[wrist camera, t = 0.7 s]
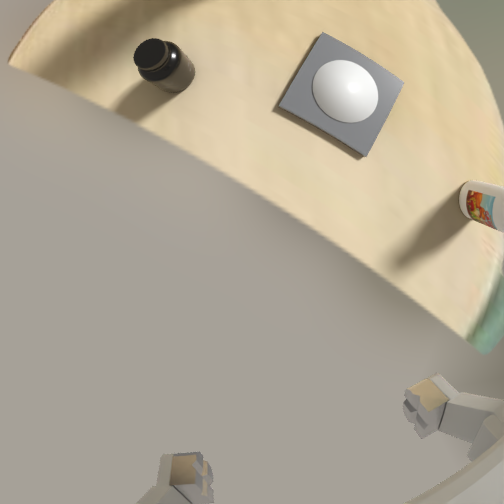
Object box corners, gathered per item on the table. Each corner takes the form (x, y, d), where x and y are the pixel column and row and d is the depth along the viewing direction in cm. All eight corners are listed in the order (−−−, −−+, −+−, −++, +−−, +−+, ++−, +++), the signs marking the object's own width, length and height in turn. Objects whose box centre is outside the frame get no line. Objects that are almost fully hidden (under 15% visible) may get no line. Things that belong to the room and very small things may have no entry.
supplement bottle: (203, 66, 39) (184, 40, 28) (181, 99, 41) (155, 83, 30) (171, 52, 38) (144, 26, 27) (150, 84, 40) (117, 67, 29)
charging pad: (278, 106, 41) (278, 105, 40) (321, 34, 36) (322, 31, 35) (364, 156, 43) (366, 156, 41) (401, 83, 38) (404, 82, 36)
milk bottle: (463, 173, 42) (536, 189, 23) (487, 188, 42) (555, 208, 23) (453, 210, 44) (523, 240, 25) (477, 222, 44) (543, 254, 25)
